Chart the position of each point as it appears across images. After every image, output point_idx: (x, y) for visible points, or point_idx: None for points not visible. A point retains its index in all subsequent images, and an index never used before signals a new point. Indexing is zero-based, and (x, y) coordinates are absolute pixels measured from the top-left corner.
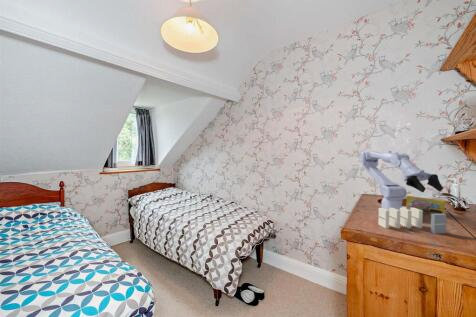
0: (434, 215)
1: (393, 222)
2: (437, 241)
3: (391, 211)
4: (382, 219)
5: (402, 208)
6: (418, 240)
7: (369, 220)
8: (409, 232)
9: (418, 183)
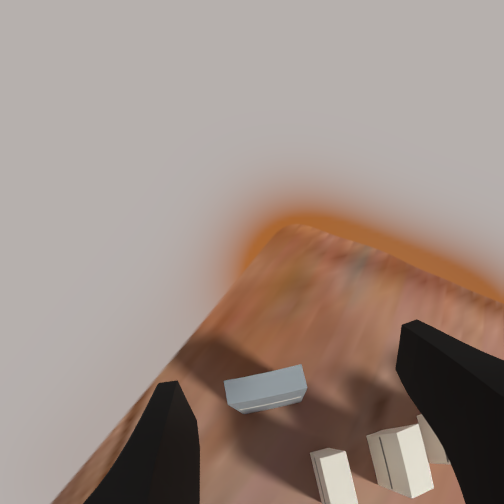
0: (301, 366)
1: None
2: (333, 294)
3: None
4: None
5: (427, 471)
6: (394, 287)
7: None
8: None
9: (490, 355)
